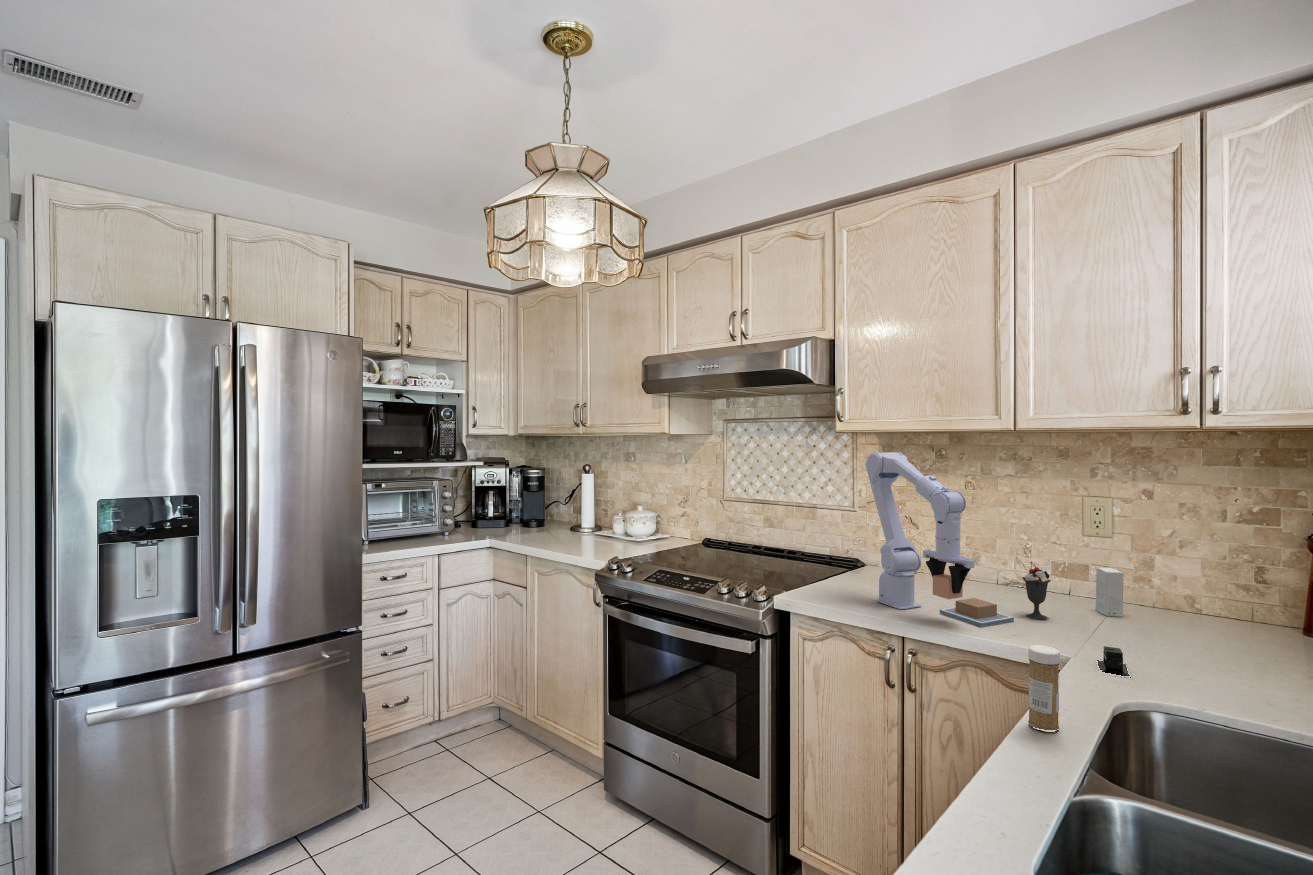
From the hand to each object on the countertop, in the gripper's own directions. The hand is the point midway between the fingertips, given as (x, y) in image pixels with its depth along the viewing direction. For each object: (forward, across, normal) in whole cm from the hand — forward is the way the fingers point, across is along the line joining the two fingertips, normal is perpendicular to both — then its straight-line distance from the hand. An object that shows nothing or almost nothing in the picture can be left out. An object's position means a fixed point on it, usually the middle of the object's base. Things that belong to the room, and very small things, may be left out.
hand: (947, 590), depth 165 cm
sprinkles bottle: (+8, +48, -33) cm, 59 cm away
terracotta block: (+1, 0, 0) cm, 1 cm away
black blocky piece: (+9, +37, +6) cm, 39 cm away
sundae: (+8, +6, +26) cm, 28 cm away
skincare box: (+9, +12, +47) cm, 49 cm away
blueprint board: (+8, 0, +10) cm, 13 cm away
